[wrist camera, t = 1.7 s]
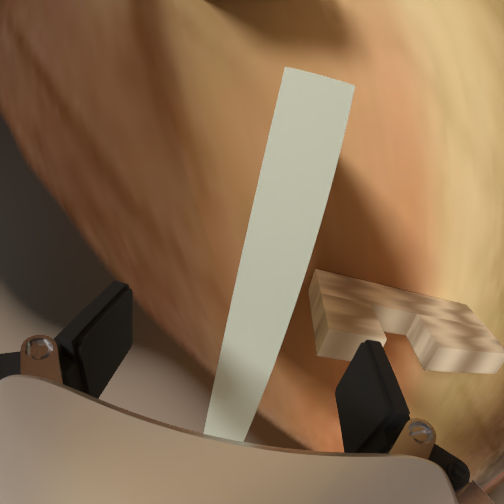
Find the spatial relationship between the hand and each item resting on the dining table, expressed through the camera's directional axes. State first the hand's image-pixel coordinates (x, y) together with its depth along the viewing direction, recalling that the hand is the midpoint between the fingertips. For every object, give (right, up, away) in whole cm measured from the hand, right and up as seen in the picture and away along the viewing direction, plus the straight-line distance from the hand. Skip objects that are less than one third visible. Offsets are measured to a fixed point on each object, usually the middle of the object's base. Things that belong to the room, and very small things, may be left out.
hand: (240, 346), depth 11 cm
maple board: (+16, -1, +17) cm, 23 cm away
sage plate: (+2, +6, +16) cm, 17 cm away
